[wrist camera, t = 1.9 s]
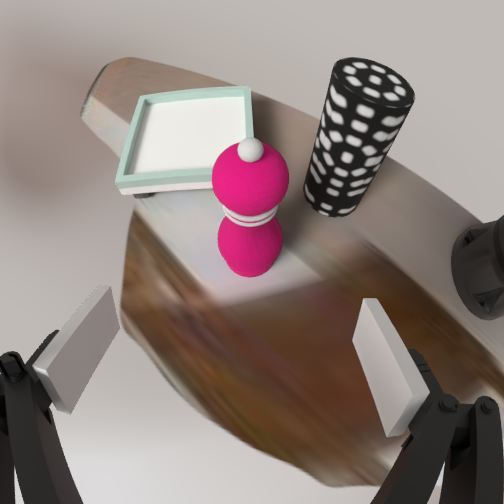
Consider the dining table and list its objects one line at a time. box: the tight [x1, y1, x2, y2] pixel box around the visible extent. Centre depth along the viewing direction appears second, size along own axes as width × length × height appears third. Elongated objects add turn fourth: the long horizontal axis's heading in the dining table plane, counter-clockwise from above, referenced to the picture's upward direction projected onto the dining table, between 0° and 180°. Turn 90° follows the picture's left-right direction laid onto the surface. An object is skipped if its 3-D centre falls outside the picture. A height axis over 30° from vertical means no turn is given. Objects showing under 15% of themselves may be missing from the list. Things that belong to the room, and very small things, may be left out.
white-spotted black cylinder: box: [303, 57, 415, 217], centre depth 32 cm, size 8×8×20 cm
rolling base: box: [115, 86, 254, 199], centre depth 41 cm, size 18×18×6 cm
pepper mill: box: [212, 137, 289, 277], centre depth 28 cm, size 7×7×20 cm
